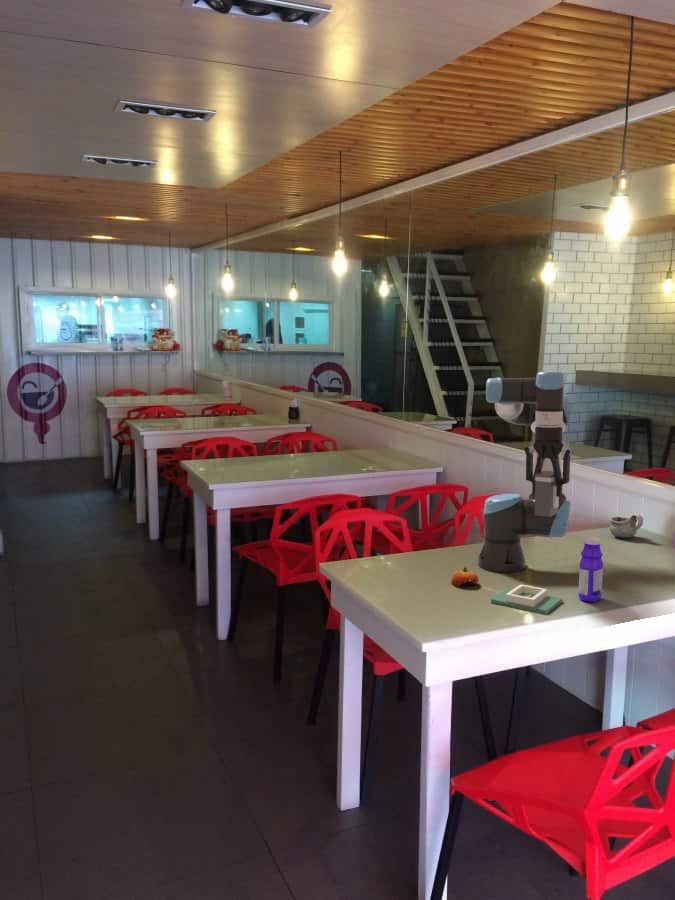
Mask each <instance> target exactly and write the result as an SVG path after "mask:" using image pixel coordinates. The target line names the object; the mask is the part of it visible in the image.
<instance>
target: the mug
mask: <svg viewBox="0 0 675 900" xmlns="http://www.w3.org/2000/svg"><path fill="white" fill-rule="evenodd" d="M643 525H644V517H643V516H642V515H641V514H639V513H633V514H632V515H630V516H629V517H628V516H627V517H626V516H612V517H610V525H609V526H610V527H609V531H610V533H611V534H612V535H613V536H614V537H617V538H621V539H630V538H632V537H634V536H635V535H636V534H637V530H639V529H640V528H642V526H643Z"/></svg>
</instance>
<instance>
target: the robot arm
mask: <svg viewBox="0 0 675 900" xmlns="http://www.w3.org/2000/svg"><path fill="white" fill-rule="evenodd" d="M564 375H565V374H564V373H563V372H562V371H538V372H537V374H536V377H491V378H488V379H487V380H486V385H485V400H486V402H487V403H492V404H494V410H495V412H496V415H497V416H498V417H499V418H500V419H502V420H503V421H505V422H507V423H510V424H513V425H515V426H516V425H517V426H527V427H529V426H530V429H531V432H532V433H534V442H533V444H532V445H530V446H529V445H527V446H525V447H524V453H525V479H526V481H527V482H530V483H531V485H532V487H531V488H532V489H531V492H530V493H528V499H523V497H522V494H519V493H501V494H495V495H492V496H489V497H488V498H486V499H485V501H484V510H483V514H484V517H483V518H484V525H483V527H484V528H483V543H482V546H481V549H480V551H479V555H478V557H477V559H478V560H477V565H478V567H479V568H482V569H483V570H487V571H492V572H498V573H499V572H500V573H511V572H512V573H514V572H518V571H522V570H525V568H526V567H527V566H526V563H527V562H526V557H525V553H524V551H523V547H522V545H521V544H522V543H521V540H522V539H521V536H523V537H526V536H527V537H540V538H541V537H542V538H551V539H552V538H564V537H565V536H566V535H567V531H568V525H569V517H570V511H571V501H568V500H567V497H566V495H565V494H564V493H563V485H566V484H568V483H570V475H571V472H570V471H571V470H570V469H571V456H572V454H573V449H572V448H567V447H566V446H564V444H563V433H564V432H565V431H566V428H567V427H569V426H570V425H571V407H570V402H569V401H570V400H569V397H568V395H567V394H566V393H564V391H565V390H564V388H565V387H564V386H565V376H564ZM562 456H563V459H562ZM542 471H553V472H554V476H555V481H556V484H555V485H554V486H553V508H557V507H558V513H557V514H555V515H553V516H551V517H546V516H537V515H535V476H536V474H537V473H539V472H542Z"/></svg>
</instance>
